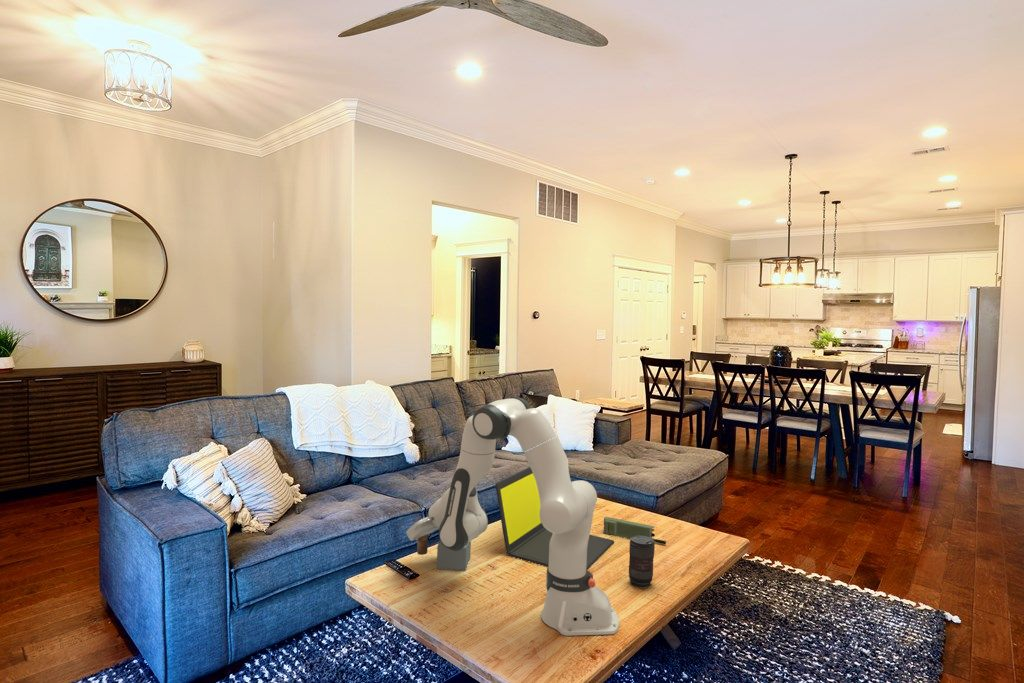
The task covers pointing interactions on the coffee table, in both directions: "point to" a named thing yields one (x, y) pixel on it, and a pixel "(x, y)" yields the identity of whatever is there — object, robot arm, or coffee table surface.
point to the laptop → (532, 522)
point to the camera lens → (641, 561)
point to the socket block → (453, 557)
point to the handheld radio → (628, 529)
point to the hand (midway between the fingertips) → (421, 535)
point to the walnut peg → (422, 545)
